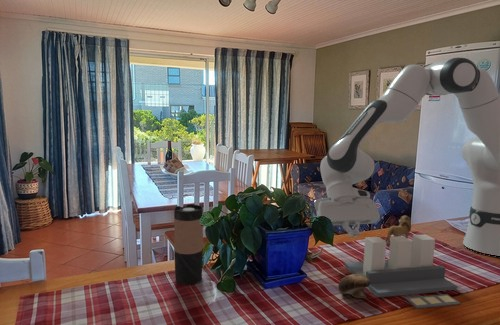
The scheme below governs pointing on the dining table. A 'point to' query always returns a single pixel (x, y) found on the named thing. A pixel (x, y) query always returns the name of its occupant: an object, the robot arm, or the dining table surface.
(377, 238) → the key
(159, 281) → the dining table surface
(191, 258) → the travel mug
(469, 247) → the robot arm
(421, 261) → the key
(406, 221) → the lion figurine
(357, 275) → the mushroom
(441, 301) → the card
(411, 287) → the board
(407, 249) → the middle key
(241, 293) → the dining table surface
